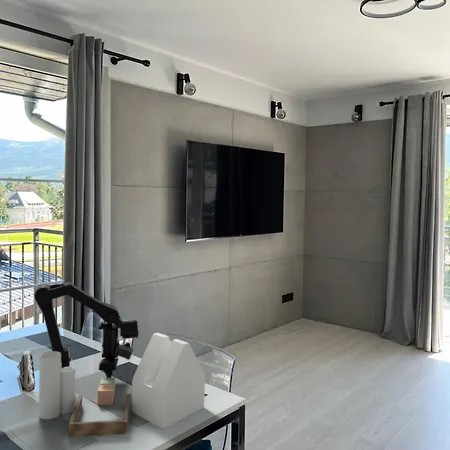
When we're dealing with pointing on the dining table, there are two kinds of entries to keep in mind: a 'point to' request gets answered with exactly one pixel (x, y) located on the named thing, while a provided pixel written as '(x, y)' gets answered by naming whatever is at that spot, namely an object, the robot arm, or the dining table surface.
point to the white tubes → (55, 386)
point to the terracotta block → (105, 394)
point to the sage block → (108, 382)
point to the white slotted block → (167, 382)
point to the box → (97, 423)
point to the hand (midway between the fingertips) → (109, 379)
